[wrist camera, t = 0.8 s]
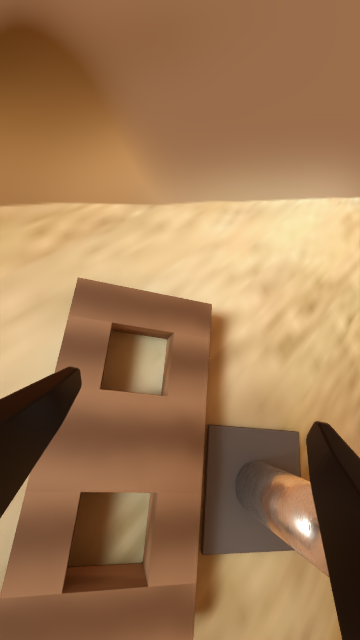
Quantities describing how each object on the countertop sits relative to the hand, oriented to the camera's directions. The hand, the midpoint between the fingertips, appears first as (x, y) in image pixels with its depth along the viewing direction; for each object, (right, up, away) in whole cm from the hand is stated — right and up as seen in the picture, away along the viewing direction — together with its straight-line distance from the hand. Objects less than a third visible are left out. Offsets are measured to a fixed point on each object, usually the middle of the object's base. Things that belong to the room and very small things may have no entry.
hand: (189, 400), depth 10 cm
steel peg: (+8, -14, +16) cm, 23 cm away
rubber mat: (+7, -14, +17) cm, 23 cm away
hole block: (-6, -8, +15) cm, 18 cm away
